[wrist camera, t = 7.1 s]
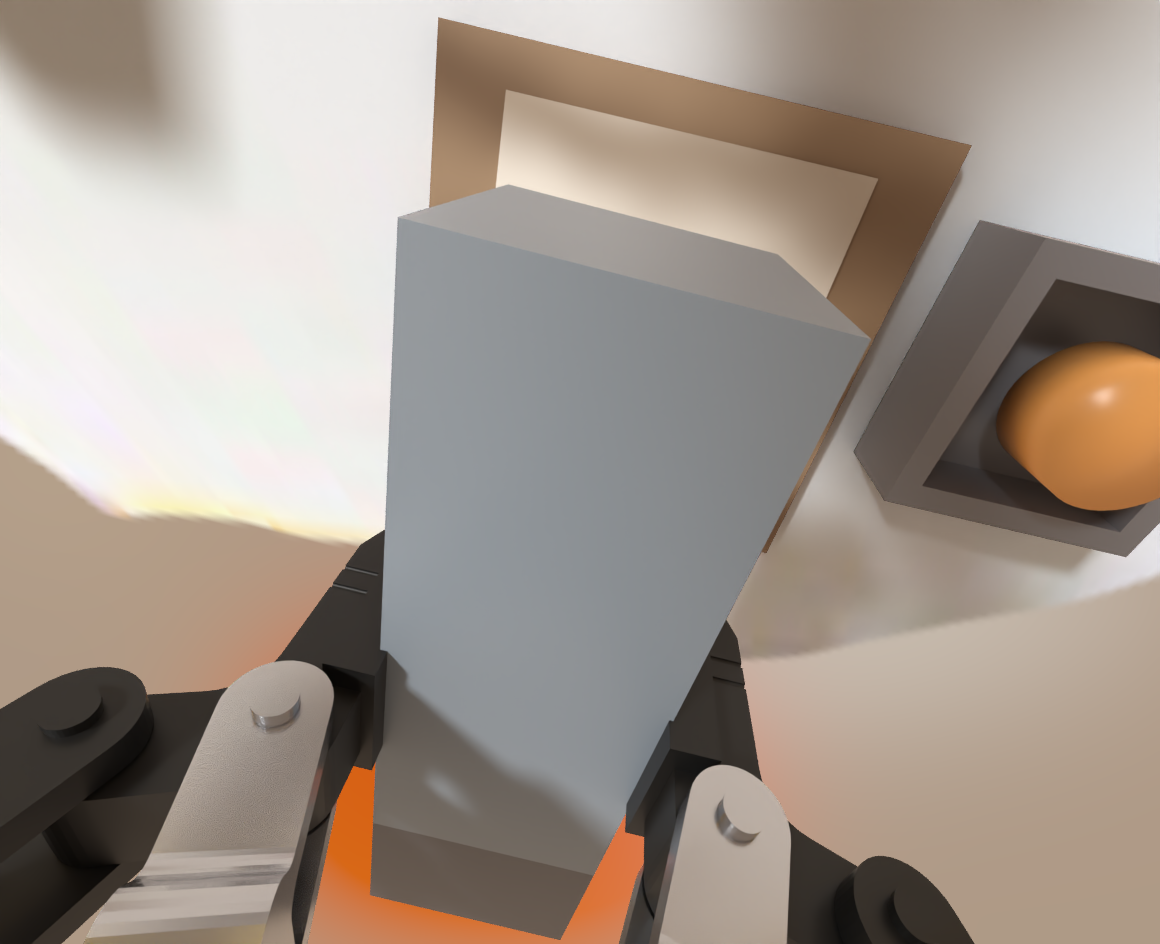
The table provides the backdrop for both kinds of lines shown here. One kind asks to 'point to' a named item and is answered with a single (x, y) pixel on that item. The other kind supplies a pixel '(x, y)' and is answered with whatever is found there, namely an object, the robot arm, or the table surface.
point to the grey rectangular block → (569, 523)
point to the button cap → (1088, 425)
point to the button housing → (1006, 382)
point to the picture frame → (692, 163)
